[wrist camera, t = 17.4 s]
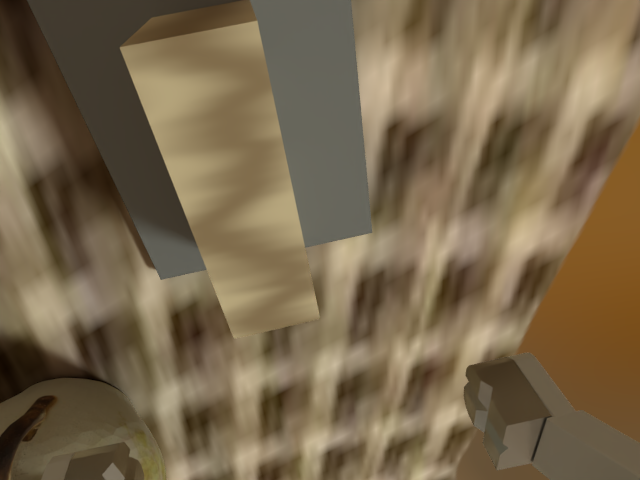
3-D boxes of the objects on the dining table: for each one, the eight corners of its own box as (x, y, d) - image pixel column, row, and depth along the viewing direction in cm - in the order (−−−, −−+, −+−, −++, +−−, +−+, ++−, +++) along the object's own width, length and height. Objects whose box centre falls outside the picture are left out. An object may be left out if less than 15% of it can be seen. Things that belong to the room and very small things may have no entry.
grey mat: (162, 271, 28) (160, 279, 28) (32, -4, 19) (25, -2, 18) (369, 226, 29) (372, 232, 28) (341, -60, 20) (345, -60, 19)
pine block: (234, 338, 22) (119, 47, 14) (233, 257, 28) (151, 17, 19) (320, 318, 22) (257, 20, 14) (301, 242, 28) (249, -1, 20)
